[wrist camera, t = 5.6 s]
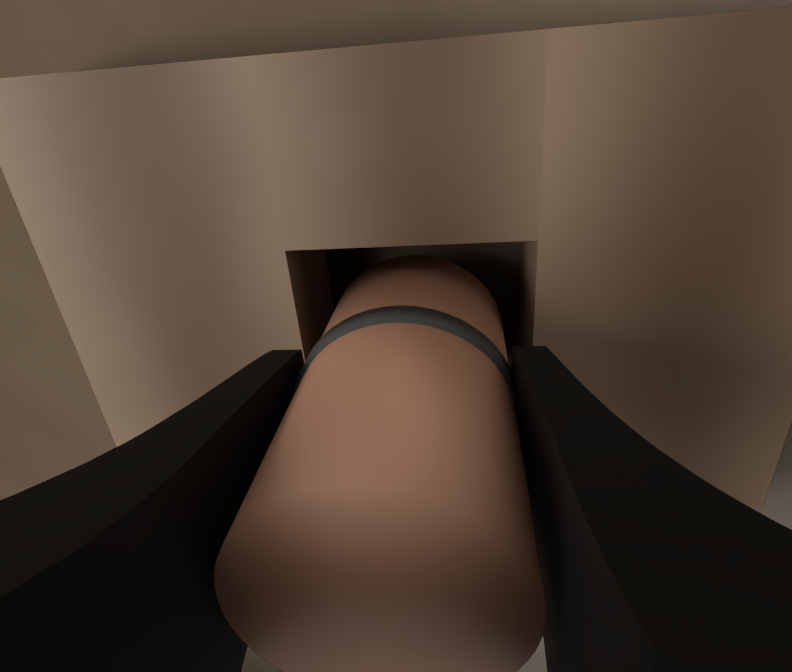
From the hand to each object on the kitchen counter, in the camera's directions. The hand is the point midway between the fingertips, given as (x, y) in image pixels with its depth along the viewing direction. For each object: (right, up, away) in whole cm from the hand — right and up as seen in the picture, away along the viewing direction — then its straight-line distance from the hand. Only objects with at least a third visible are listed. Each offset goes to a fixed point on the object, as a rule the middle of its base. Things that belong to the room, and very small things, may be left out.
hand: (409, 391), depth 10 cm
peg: (0, +1, +2) cm, 2 cm away
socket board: (0, +2, +4) cm, 4 cm away
